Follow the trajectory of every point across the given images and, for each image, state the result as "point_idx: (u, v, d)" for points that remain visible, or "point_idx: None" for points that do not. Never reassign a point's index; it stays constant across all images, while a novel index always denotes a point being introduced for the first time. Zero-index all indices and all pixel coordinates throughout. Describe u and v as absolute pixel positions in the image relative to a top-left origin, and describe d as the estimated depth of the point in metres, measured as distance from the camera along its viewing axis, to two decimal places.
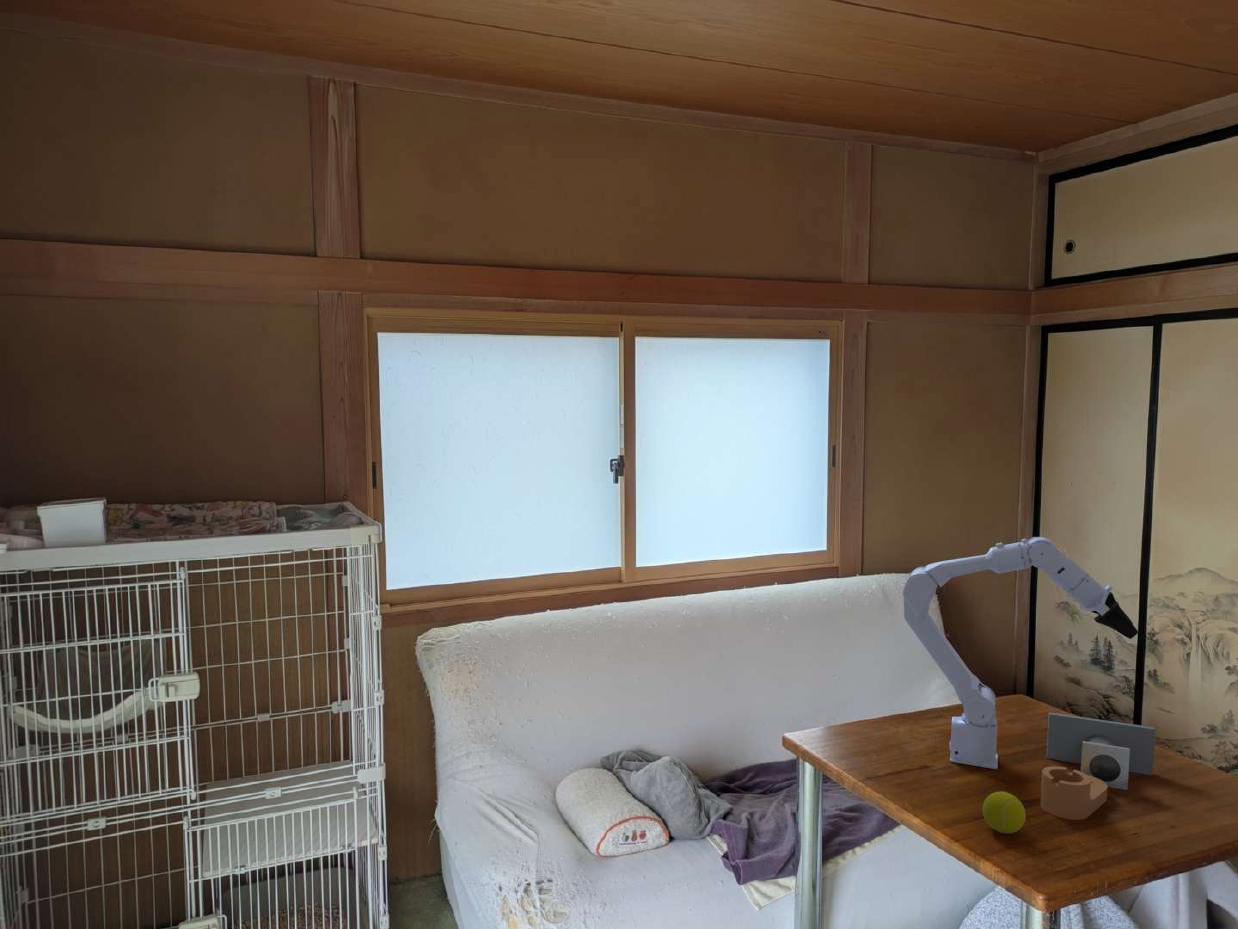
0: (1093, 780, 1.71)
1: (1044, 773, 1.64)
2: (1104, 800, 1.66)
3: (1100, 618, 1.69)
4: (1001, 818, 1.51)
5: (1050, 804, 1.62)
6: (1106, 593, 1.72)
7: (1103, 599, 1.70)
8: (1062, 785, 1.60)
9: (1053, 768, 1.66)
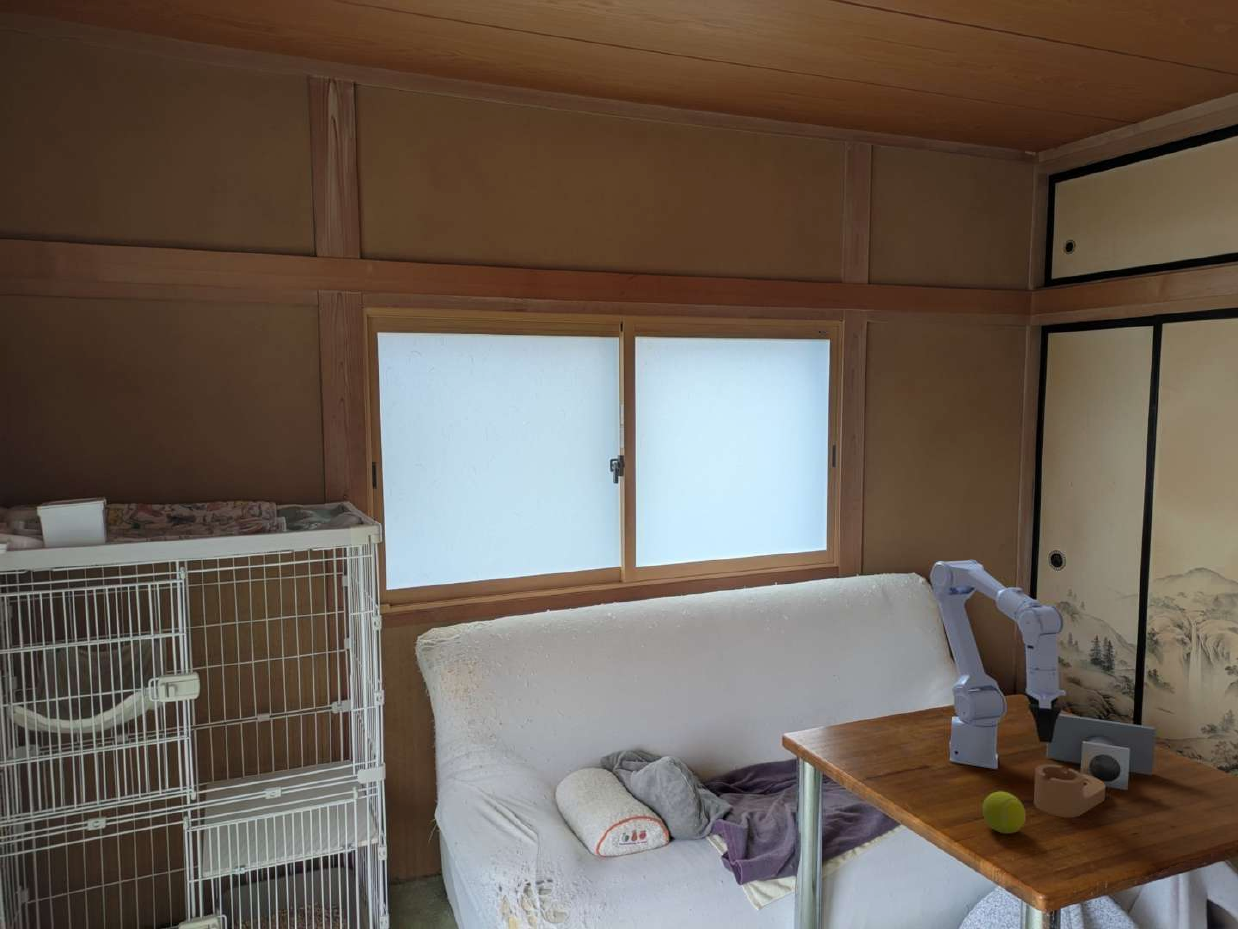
0: (1092, 780, 1.71)
1: (1037, 770, 1.65)
2: (1101, 800, 1.67)
3: (1035, 708, 1.63)
4: (1001, 818, 1.51)
5: (1041, 801, 1.63)
6: (1057, 695, 1.65)
7: (1052, 697, 1.63)
8: (1053, 782, 1.61)
9: (1048, 766, 1.67)
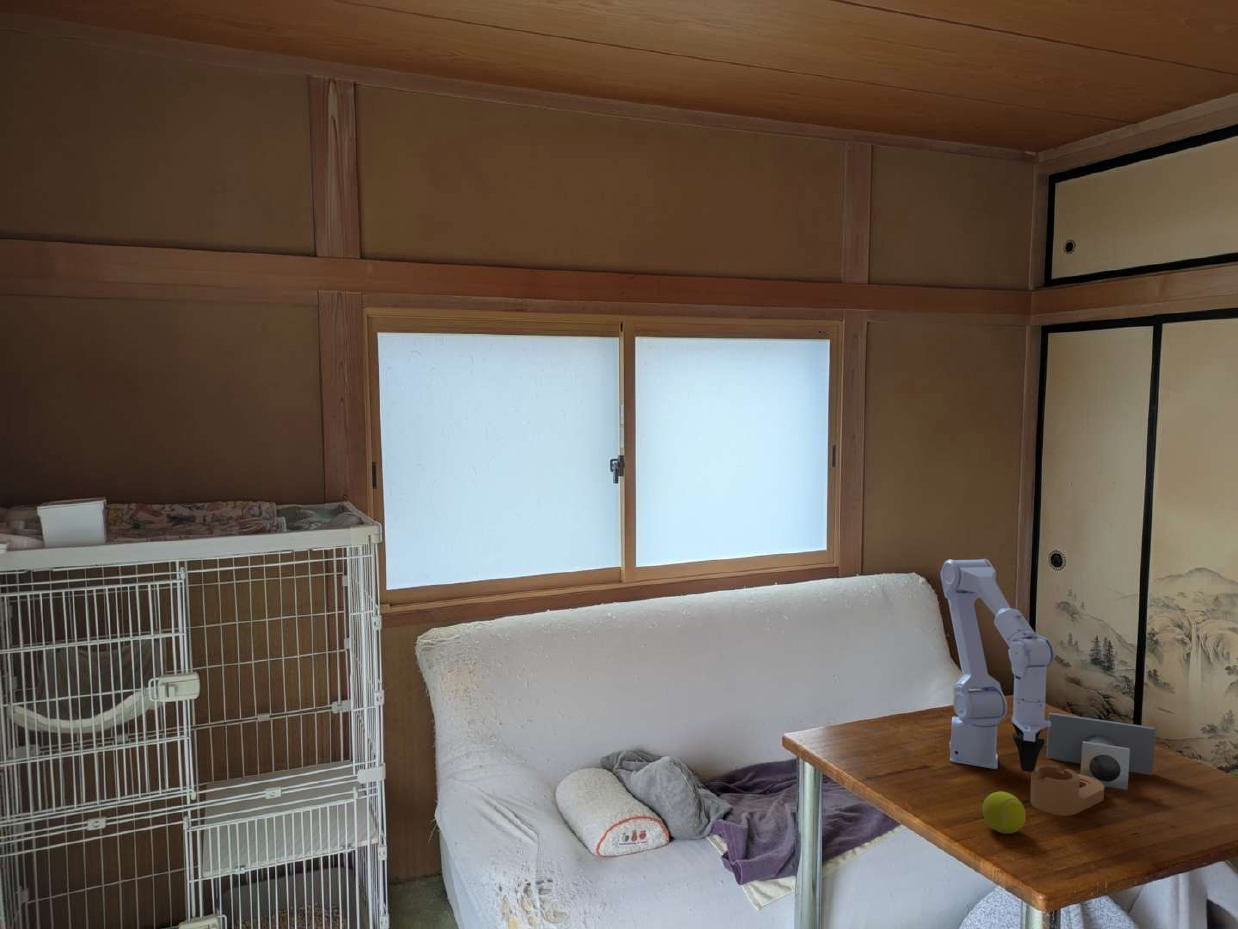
0: (1091, 781, 1.71)
1: None
2: (1099, 801, 1.67)
3: (1019, 739, 1.65)
4: (1001, 818, 1.51)
5: (1037, 800, 1.64)
6: (1042, 726, 1.66)
7: (1037, 730, 1.64)
8: (1047, 782, 1.62)
9: (1045, 766, 1.68)
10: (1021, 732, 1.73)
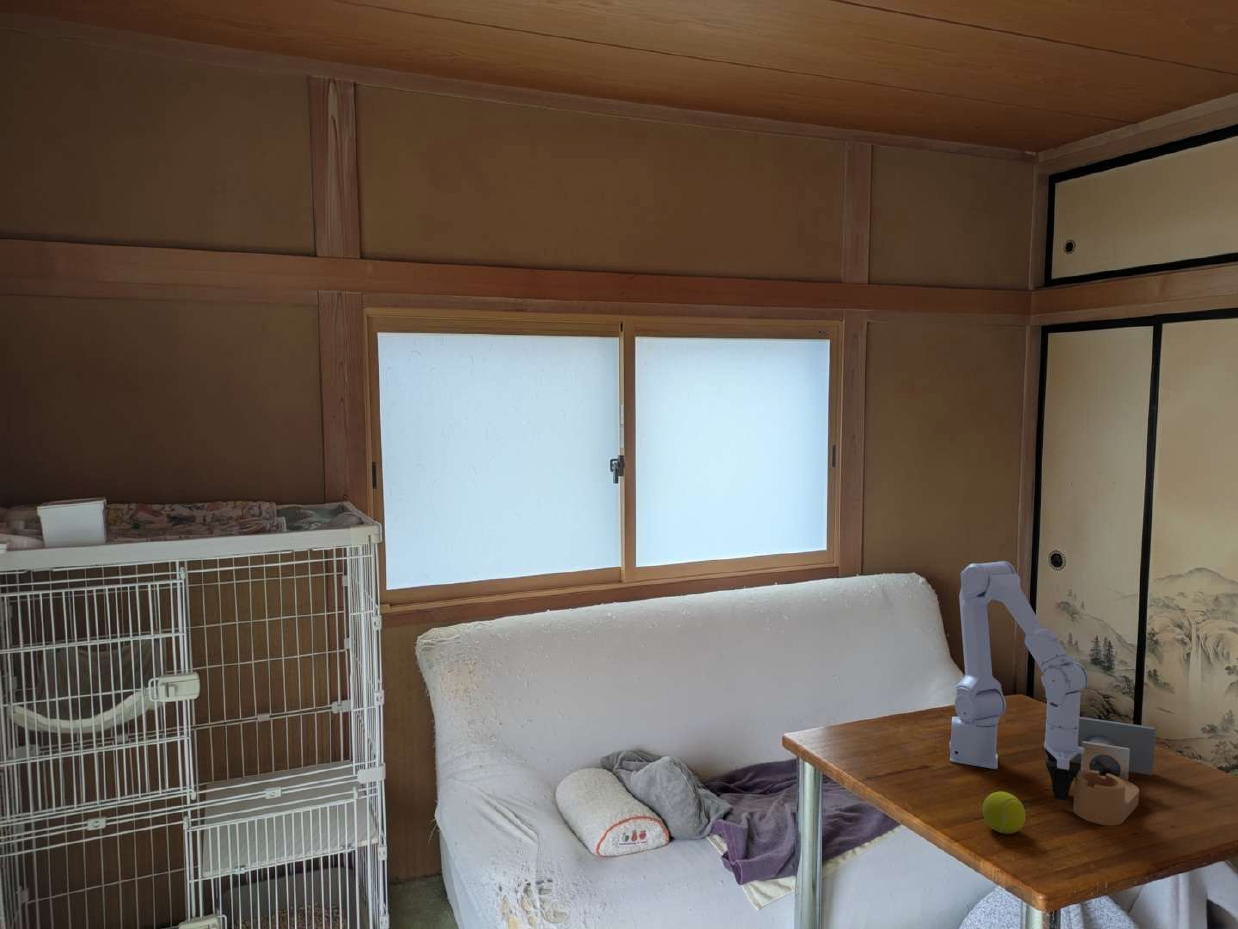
0: None
1: (1078, 777, 1.62)
2: (1136, 803, 1.65)
3: (1053, 767, 1.62)
4: (1001, 818, 1.51)
5: (1085, 809, 1.59)
6: (1076, 753, 1.64)
7: (1071, 758, 1.62)
8: (1097, 789, 1.58)
9: (1086, 772, 1.64)
10: (1053, 757, 1.71)
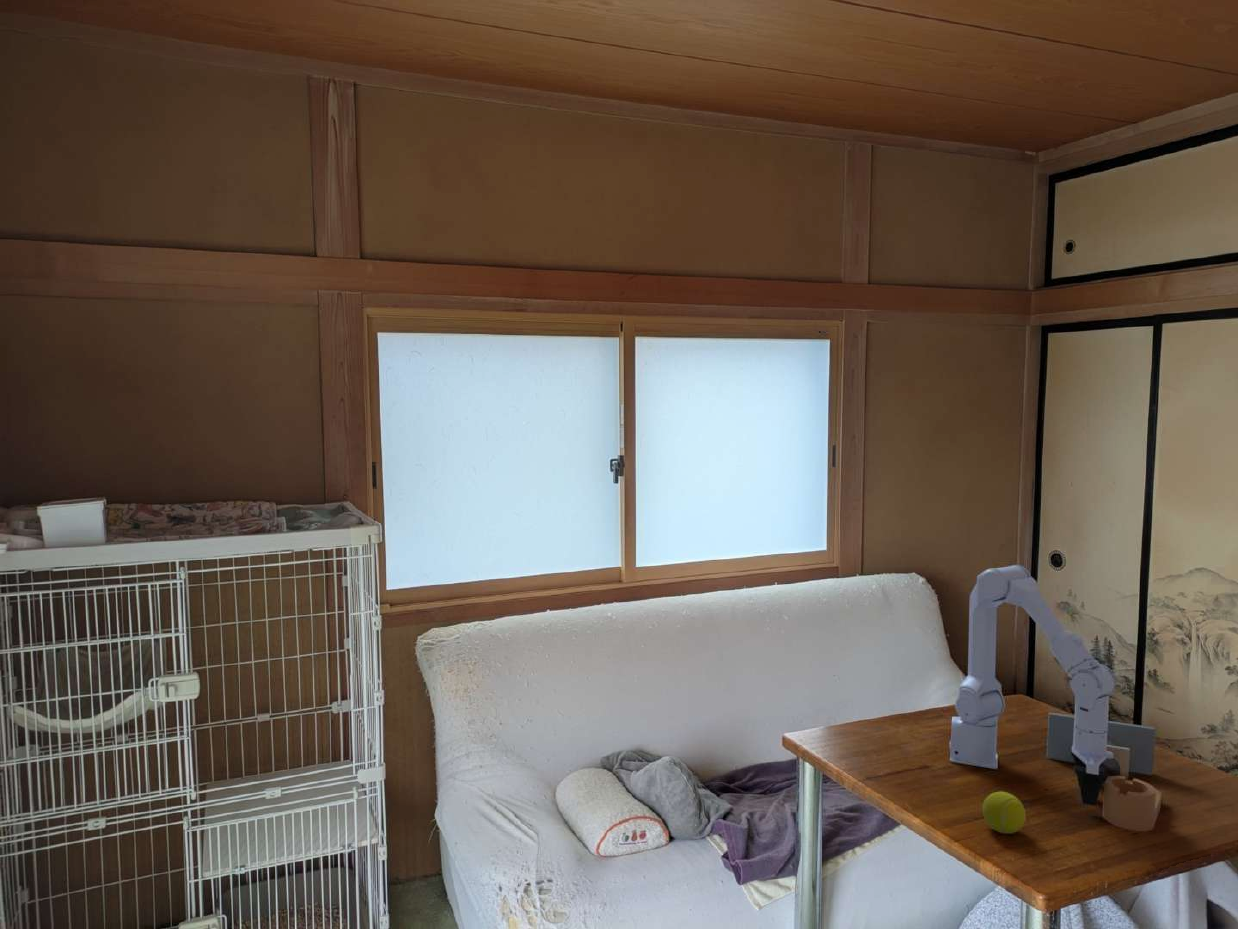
0: None
1: (1108, 784, 1.59)
2: (1160, 807, 1.64)
3: (1082, 772, 1.60)
4: (1001, 818, 1.51)
5: (1117, 816, 1.57)
6: (1105, 758, 1.62)
7: (1100, 762, 1.60)
8: (1131, 796, 1.55)
9: (1113, 778, 1.62)
10: (1080, 761, 1.69)
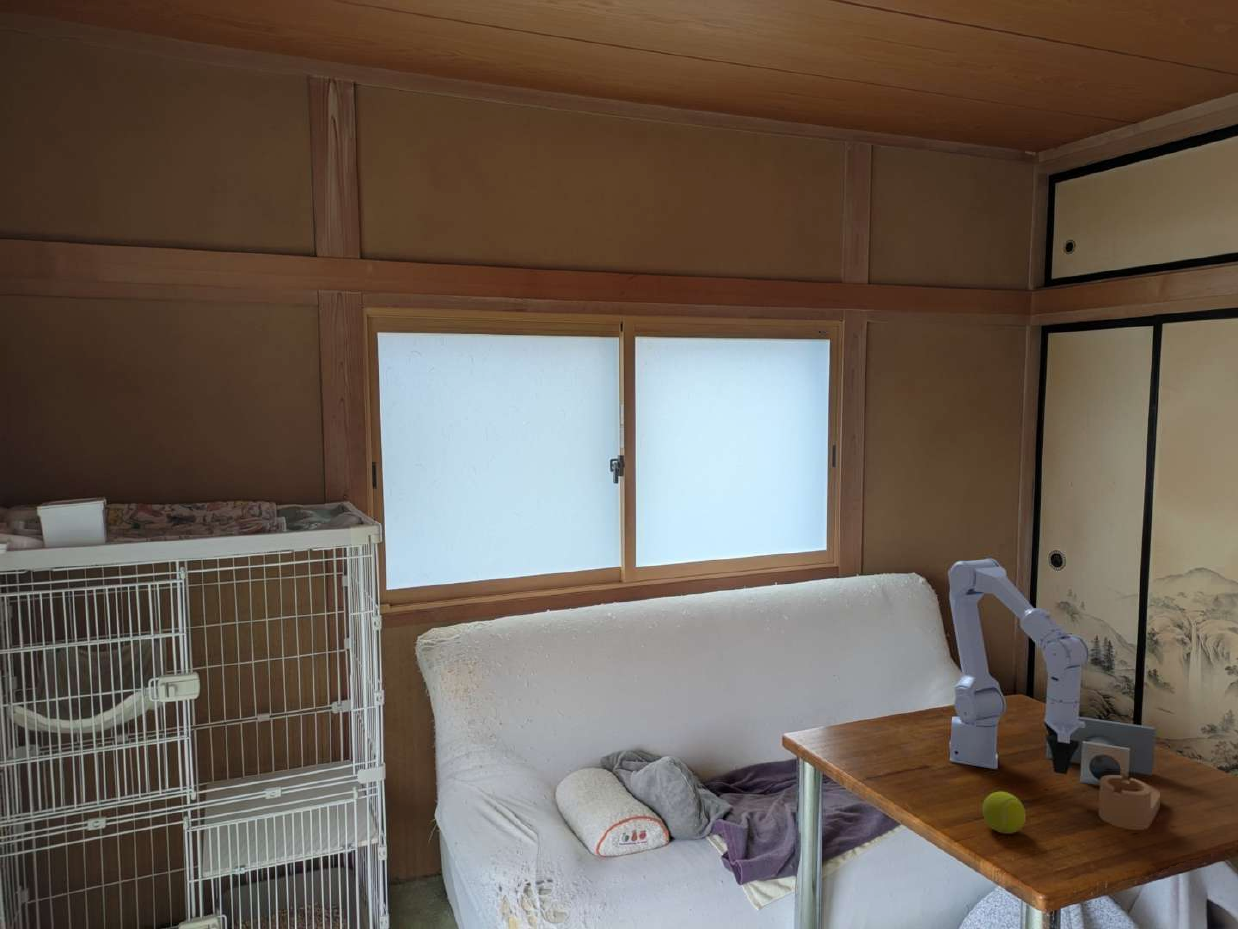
0: None
1: (1103, 783, 1.60)
2: (1158, 807, 1.64)
3: (1053, 741, 1.62)
4: (1001, 818, 1.51)
5: (1112, 815, 1.58)
6: (1076, 727, 1.64)
7: (1071, 731, 1.62)
8: (1125, 795, 1.56)
9: (1110, 777, 1.63)
10: (1053, 731, 1.71)
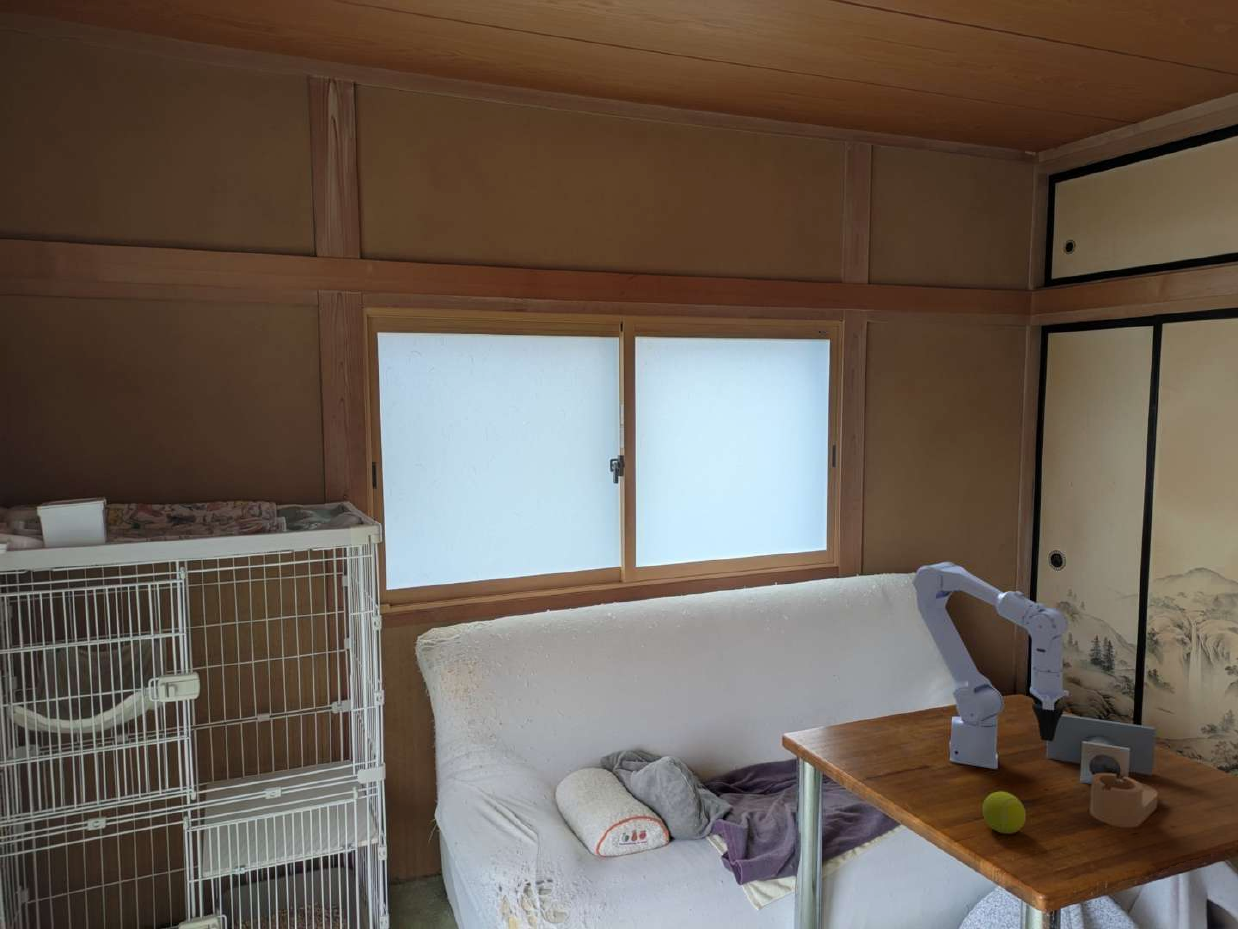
0: (1142, 786, 1.68)
1: (1094, 780, 1.61)
2: (1154, 807, 1.64)
3: (1038, 709, 1.69)
4: (1001, 818, 1.51)
5: (1101, 811, 1.59)
6: (1060, 696, 1.71)
7: (1055, 699, 1.69)
8: (1114, 792, 1.57)
9: (1103, 775, 1.64)
10: (1039, 702, 1.78)
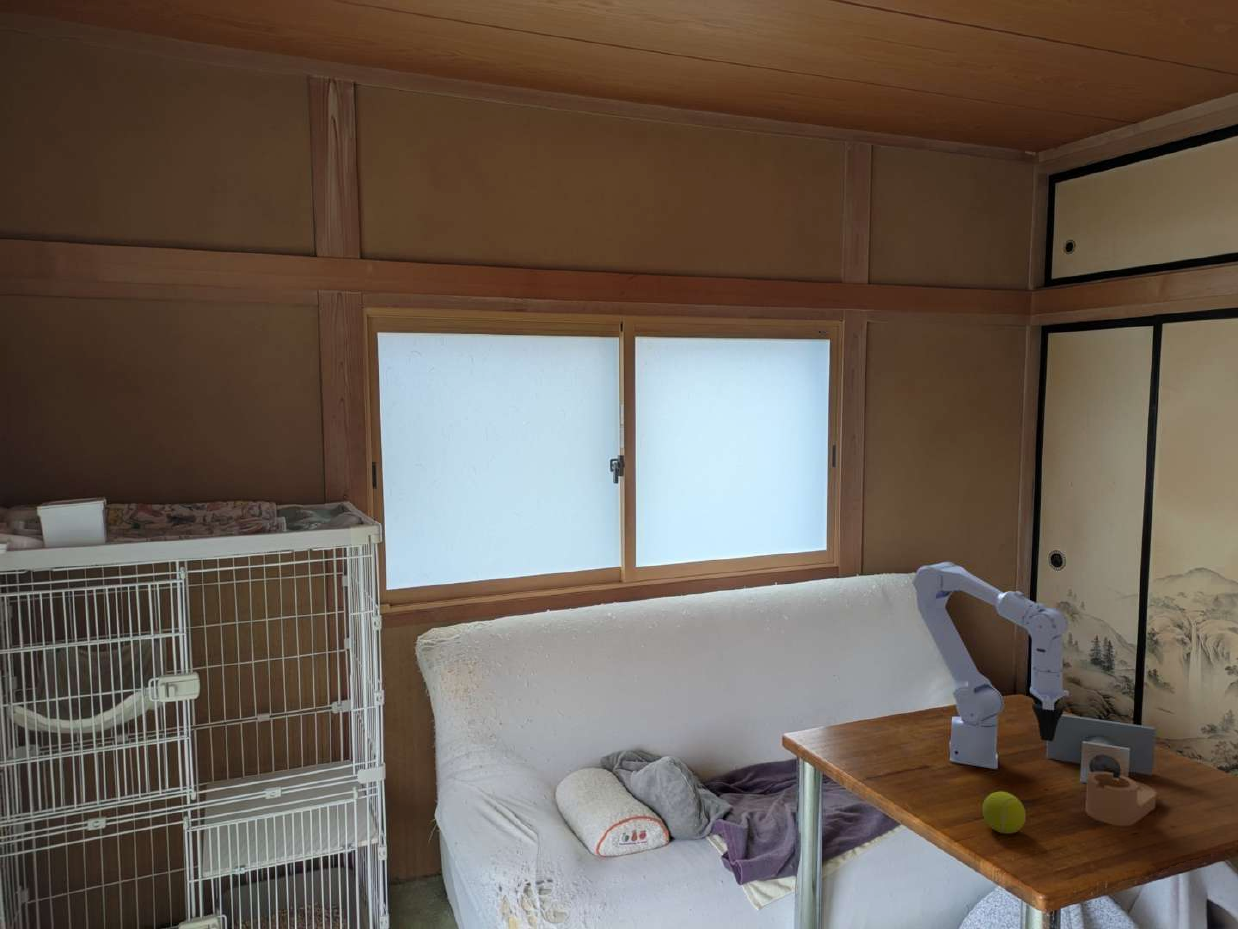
0: (1141, 786, 1.68)
1: (1089, 778, 1.62)
2: (1152, 807, 1.64)
3: (1038, 709, 1.69)
4: (1001, 818, 1.51)
5: (1095, 809, 1.60)
6: (1060, 696, 1.71)
7: (1055, 699, 1.69)
8: (1107, 790, 1.58)
9: (1099, 773, 1.64)
10: (1039, 702, 1.78)
